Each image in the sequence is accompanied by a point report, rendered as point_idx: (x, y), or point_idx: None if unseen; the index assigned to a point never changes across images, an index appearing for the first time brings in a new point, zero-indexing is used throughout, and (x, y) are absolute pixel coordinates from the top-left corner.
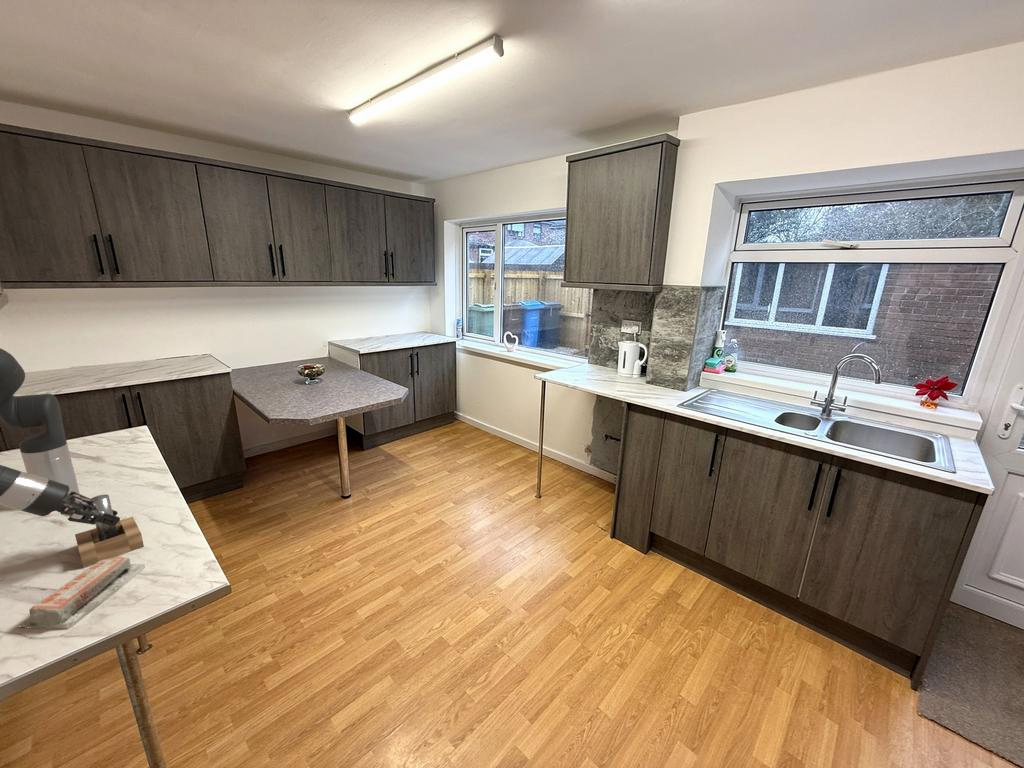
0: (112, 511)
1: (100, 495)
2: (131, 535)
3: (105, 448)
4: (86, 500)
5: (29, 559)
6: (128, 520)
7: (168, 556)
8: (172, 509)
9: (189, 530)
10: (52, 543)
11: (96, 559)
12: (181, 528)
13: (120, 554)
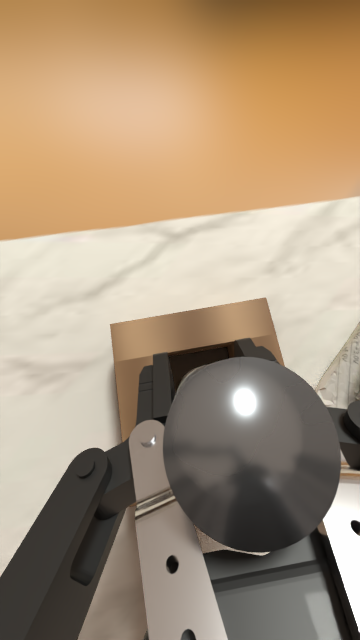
0: (168, 369)
1: (178, 439)
2: (267, 322)
3: None
4: (209, 583)
5: (121, 616)
6: (134, 335)
7: (339, 261)
8: (61, 250)
9: (225, 218)
10: None
11: None
12: (201, 233)
13: None
